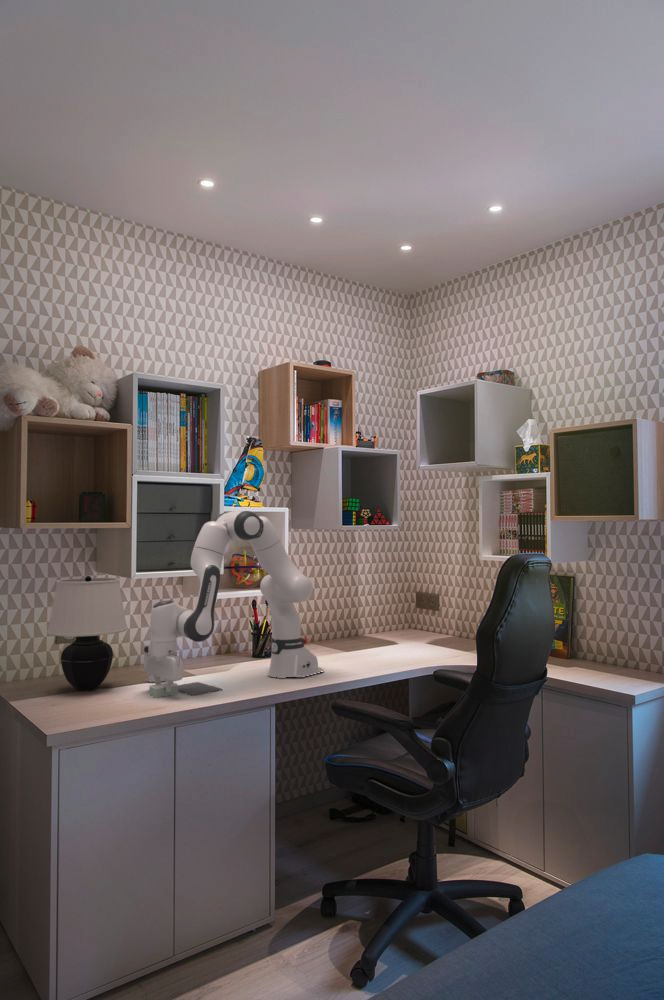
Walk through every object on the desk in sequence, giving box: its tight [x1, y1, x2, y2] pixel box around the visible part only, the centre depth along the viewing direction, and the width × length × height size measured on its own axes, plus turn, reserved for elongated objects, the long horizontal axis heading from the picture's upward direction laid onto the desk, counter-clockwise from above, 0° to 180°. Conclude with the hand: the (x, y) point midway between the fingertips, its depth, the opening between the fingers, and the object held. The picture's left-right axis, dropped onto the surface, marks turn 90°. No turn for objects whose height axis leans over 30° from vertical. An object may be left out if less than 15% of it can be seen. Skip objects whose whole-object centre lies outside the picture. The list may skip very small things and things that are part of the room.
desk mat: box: [177, 681, 223, 696], centre depth 248 cm, size 12×16×1 cm
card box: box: [148, 682, 178, 698], centre depth 239 cm, size 8×4×4 cm, turn 133°
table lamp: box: [46, 575, 129, 692], centre depth 249 cm, size 27×27×40 cm
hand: (163, 690), depth 239 cm, fingers closed on card box, 4 cm apart
